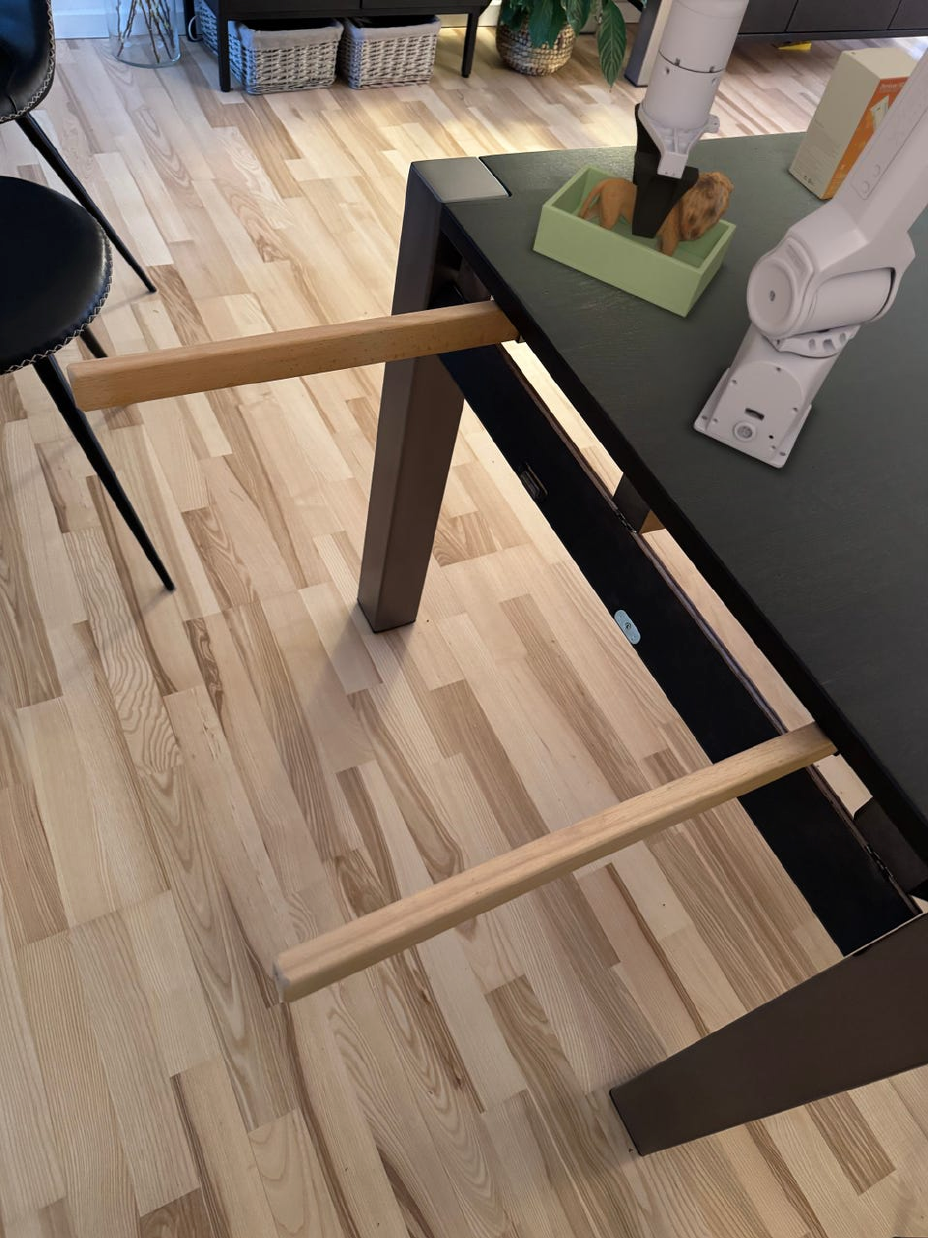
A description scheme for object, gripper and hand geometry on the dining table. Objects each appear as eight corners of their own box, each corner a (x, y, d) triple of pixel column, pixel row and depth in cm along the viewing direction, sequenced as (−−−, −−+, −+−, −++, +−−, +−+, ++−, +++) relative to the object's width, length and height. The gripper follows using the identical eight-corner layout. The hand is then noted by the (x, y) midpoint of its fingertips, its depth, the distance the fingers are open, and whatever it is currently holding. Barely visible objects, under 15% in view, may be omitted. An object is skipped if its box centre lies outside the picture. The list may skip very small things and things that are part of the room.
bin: (684, 317, 84) (702, 274, 80) (532, 250, 87) (542, 205, 83) (719, 267, 89) (737, 225, 86) (575, 206, 92) (586, 162, 89)
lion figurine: (701, 252, 89) (736, 163, 82) (705, 283, 86) (741, 194, 79) (558, 225, 89) (580, 134, 81) (556, 256, 85) (579, 163, 78)
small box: (820, 201, 100) (880, 78, 90) (786, 171, 103) (840, 48, 93) (873, 193, 103) (937, 72, 92) (838, 163, 106) (896, 43, 95)
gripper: (746, 107, 69) (686, 264, 80) (734, 29, 77) (681, 181, 88) (657, 88, 69) (609, 249, 80) (655, 12, 77) (612, 167, 88)
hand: (642, 212), depth 84 cm, fingers open, 7 cm apart
